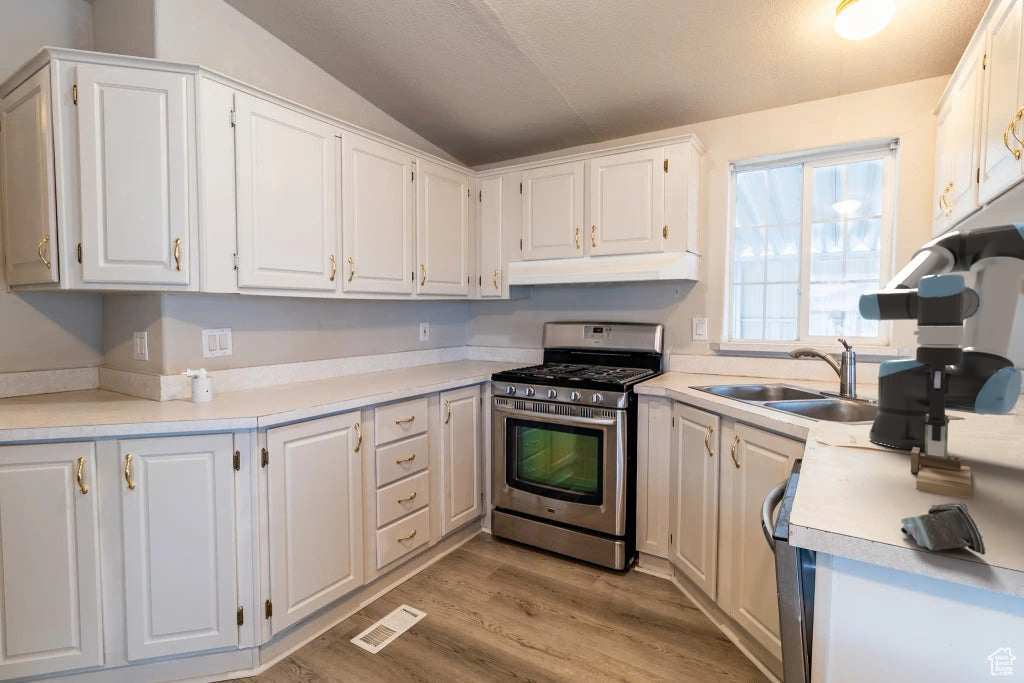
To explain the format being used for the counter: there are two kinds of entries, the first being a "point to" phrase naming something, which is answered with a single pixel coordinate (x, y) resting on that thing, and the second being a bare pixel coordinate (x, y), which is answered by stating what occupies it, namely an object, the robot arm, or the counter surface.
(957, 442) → the counter surface
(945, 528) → the chocolate cake
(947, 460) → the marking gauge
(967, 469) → the oak board
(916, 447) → the robot arm
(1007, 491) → the counter surface
